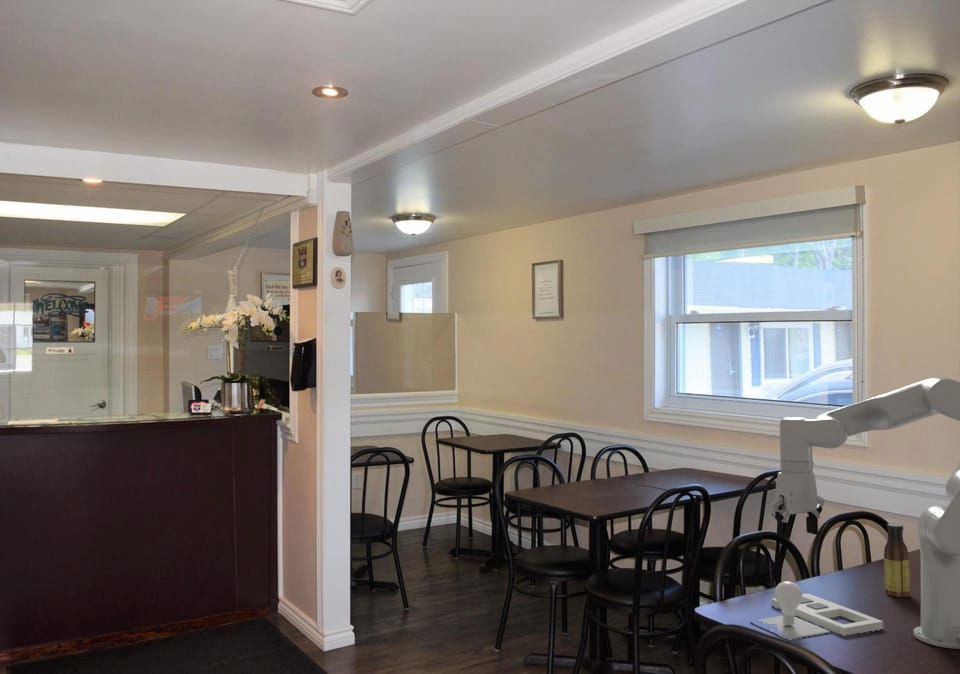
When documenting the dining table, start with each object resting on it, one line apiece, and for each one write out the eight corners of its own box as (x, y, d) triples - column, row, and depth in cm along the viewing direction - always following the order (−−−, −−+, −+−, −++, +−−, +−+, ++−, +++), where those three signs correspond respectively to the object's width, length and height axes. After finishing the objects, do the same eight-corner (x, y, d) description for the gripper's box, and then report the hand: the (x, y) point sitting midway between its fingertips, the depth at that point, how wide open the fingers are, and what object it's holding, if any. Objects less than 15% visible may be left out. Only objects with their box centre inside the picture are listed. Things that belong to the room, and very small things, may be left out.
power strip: (882, 629, 195) (882, 618, 195) (844, 636, 190) (844, 625, 190) (808, 600, 217) (808, 591, 217) (771, 606, 212) (771, 596, 212)
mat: (829, 633, 192) (829, 631, 192) (788, 640, 187) (788, 638, 187) (789, 616, 204) (789, 614, 204) (750, 622, 199) (750, 620, 199)
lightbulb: (780, 619, 200) (780, 576, 200) (805, 625, 196) (805, 581, 196) (771, 626, 195) (771, 581, 195) (797, 632, 191) (797, 587, 191)
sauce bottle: (904, 592, 225) (904, 522, 226) (913, 598, 219) (913, 527, 220) (880, 591, 226) (880, 521, 226) (889, 597, 220) (889, 526, 220)
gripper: (810, 462, 204) (811, 529, 204) (759, 467, 197) (760, 536, 197) (833, 466, 197) (835, 535, 197) (781, 471, 190) (783, 542, 190)
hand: (797, 535), depth 197 cm, fingers open, 9 cm apart
